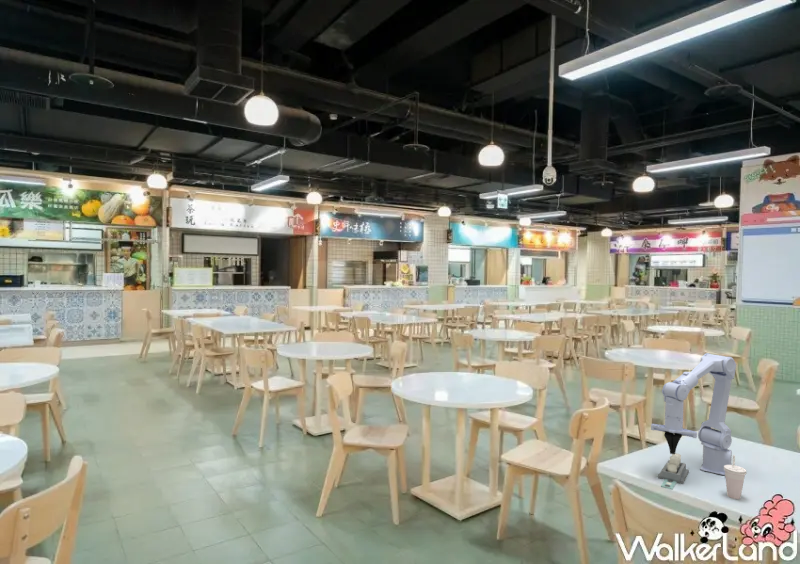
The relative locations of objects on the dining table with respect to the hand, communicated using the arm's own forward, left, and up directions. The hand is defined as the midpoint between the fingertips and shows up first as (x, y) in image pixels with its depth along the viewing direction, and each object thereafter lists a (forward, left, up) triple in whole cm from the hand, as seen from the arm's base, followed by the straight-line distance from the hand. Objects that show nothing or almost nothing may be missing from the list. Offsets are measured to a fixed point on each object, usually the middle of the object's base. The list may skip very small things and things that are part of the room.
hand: (672, 453), depth 182 cm
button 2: (0, -9, -7) cm, 11 cm away
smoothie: (-19, +3, -10) cm, 21 cm away
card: (0, +6, -9) cm, 11 cm away
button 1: (0, 0, -8) cm, 8 cm away
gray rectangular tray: (0, -4, -9) cm, 10 cm away
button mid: (0, -4, -7) cm, 8 cm away
